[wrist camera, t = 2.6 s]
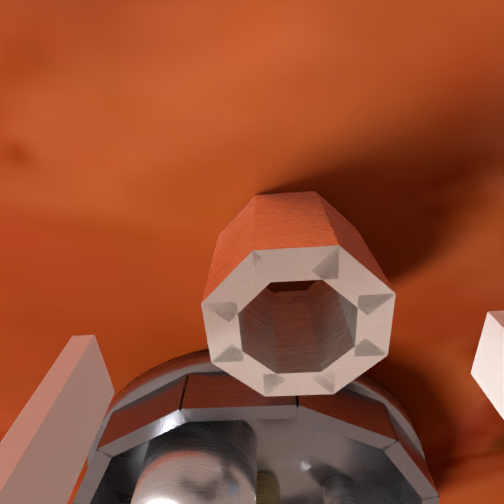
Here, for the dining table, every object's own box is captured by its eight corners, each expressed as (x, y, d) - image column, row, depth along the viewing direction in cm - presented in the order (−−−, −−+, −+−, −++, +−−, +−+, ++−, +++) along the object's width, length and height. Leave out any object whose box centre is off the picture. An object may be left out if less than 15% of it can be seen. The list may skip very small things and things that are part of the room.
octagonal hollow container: (358, 187, 17) (402, 241, 12) (351, 307, 20) (383, 392, 15) (213, 197, 17) (192, 254, 12) (228, 313, 21) (217, 398, 15)
